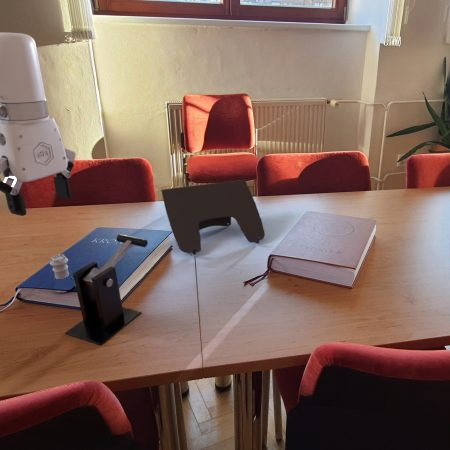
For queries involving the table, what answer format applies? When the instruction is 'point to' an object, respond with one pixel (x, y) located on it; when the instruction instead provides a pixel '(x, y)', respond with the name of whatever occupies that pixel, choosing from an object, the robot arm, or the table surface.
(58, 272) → the rook chess piece
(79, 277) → the bracket
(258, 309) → the table surface
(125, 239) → the lever
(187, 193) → the laptop tray
